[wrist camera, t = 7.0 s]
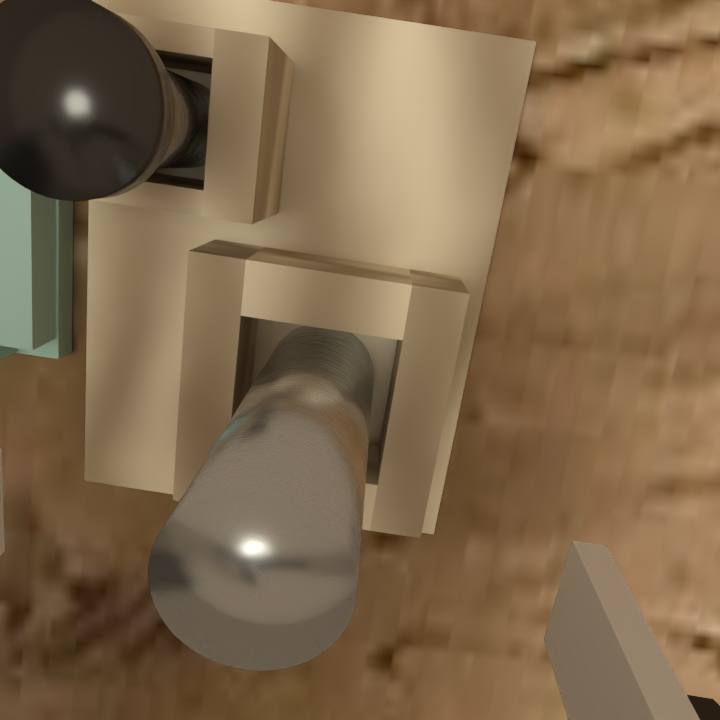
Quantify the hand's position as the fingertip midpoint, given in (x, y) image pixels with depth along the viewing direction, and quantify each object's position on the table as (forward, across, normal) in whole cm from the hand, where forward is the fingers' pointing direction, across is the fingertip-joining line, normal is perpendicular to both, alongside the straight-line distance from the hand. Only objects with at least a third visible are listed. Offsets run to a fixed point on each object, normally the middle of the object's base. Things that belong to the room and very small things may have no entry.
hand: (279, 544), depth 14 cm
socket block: (+13, -2, +3) cm, 14 cm away
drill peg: (+13, 0, 0) cm, 13 cm away
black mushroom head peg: (+12, -6, +9) cm, 16 cm away
